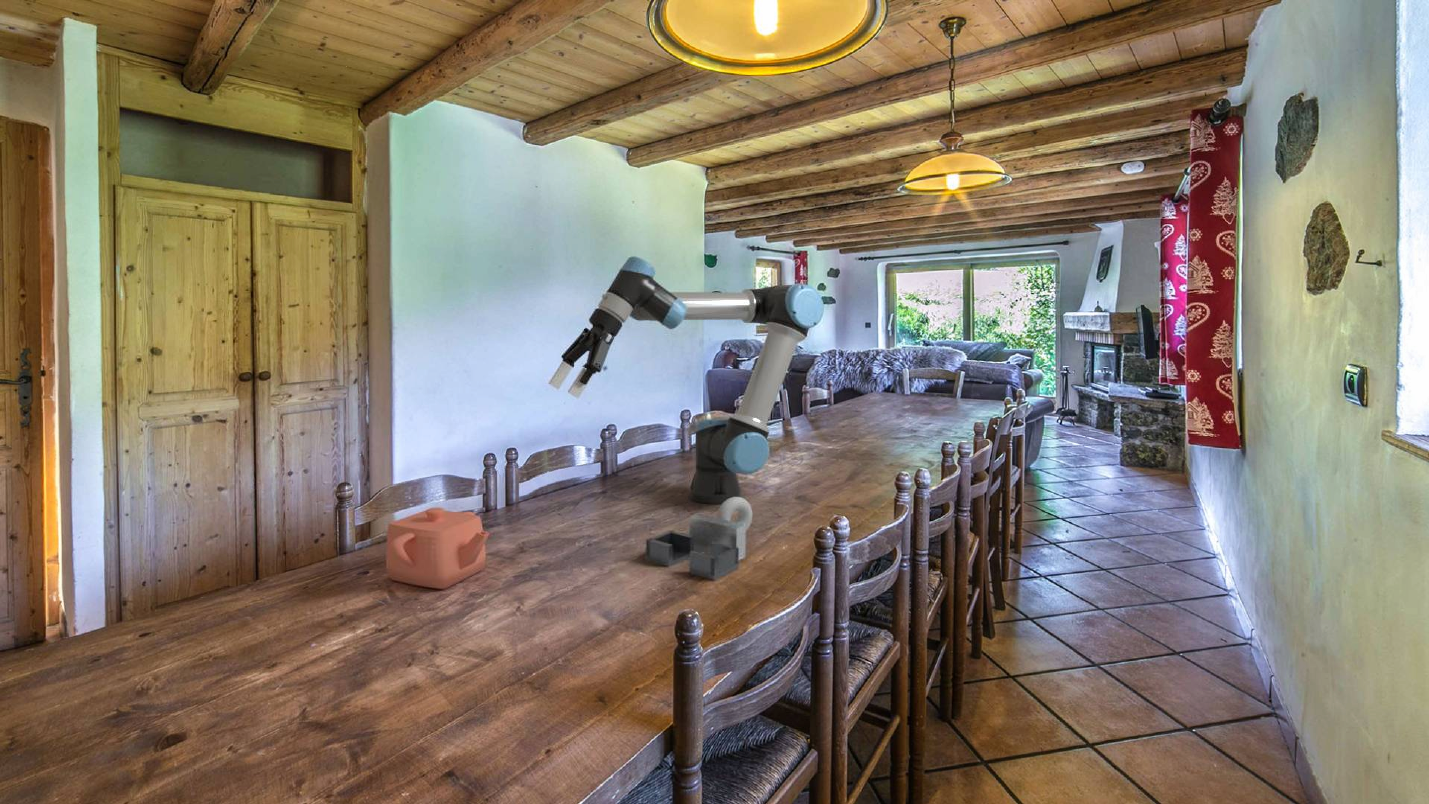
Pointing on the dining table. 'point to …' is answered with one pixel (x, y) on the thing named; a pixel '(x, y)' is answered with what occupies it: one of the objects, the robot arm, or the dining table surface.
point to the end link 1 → (669, 548)
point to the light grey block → (716, 533)
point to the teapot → (435, 548)
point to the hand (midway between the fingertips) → (562, 390)
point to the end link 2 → (715, 561)
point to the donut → (736, 505)
